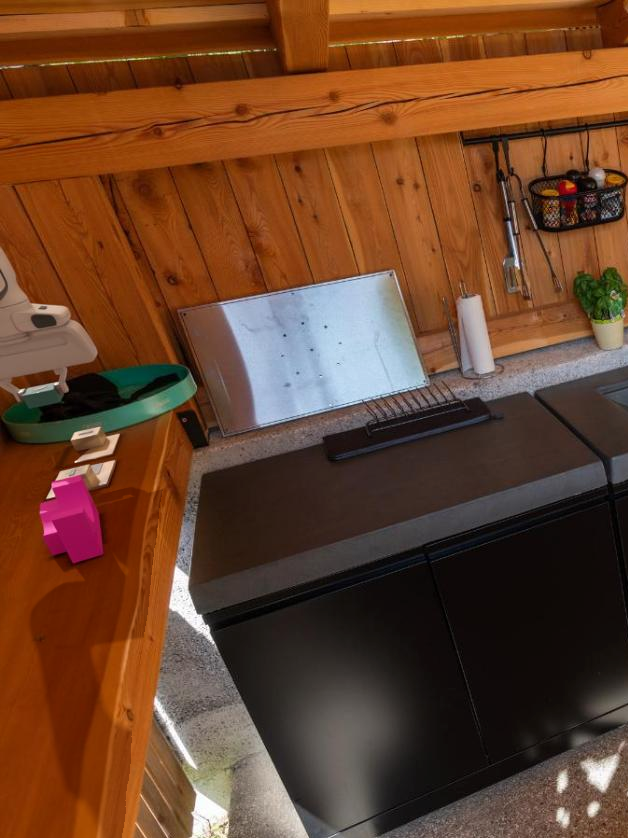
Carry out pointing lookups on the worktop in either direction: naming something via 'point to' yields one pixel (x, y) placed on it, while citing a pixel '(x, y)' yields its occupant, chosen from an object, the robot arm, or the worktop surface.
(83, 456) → the beige flat stepped block
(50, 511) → the toy block
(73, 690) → the worktop surface
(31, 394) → the teal slotted box
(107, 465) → the beige base plate
